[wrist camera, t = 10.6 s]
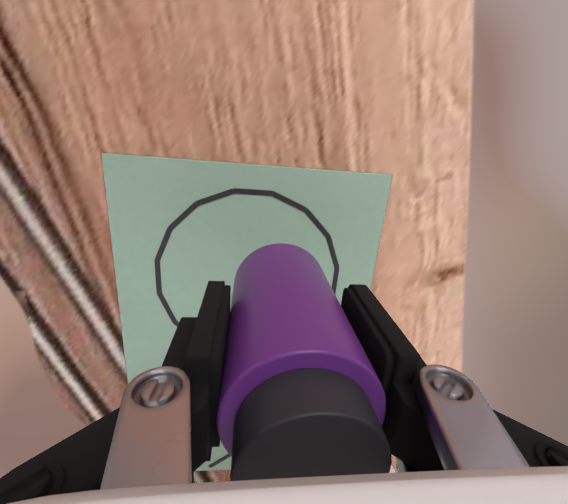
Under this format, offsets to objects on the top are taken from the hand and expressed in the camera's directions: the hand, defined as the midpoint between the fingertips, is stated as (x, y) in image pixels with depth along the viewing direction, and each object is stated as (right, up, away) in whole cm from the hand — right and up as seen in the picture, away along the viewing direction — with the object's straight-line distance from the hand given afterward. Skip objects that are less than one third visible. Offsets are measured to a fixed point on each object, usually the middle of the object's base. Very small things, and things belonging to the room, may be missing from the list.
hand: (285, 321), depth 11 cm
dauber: (0, +1, +3) cm, 4 cm away
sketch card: (-3, -4, +10) cm, 11 cm away
